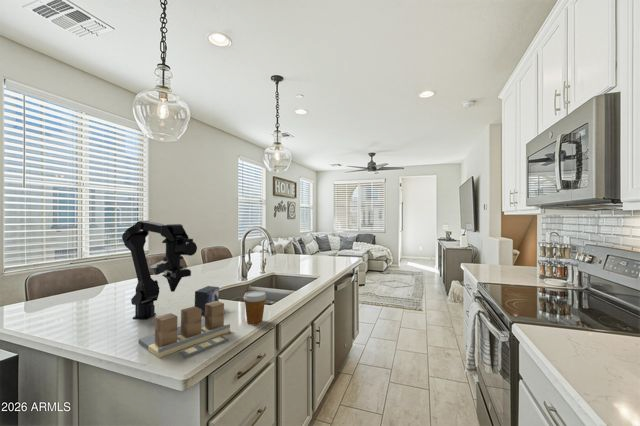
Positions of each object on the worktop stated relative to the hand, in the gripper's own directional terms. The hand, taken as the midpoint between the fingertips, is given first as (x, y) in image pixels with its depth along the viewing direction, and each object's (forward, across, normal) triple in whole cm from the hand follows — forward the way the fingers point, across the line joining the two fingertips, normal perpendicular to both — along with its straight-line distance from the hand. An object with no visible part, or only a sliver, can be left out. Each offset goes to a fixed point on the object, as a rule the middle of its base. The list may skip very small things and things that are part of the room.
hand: (172, 291), depth 117 cm
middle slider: (+11, +21, -3) cm, 24 cm away
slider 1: (+11, +22, -12) cm, 27 cm away
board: (+13, +18, -3) cm, 23 cm away
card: (+13, +30, -3) cm, 33 cm away
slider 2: (+11, +22, +6) cm, 25 cm away
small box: (+13, -2, +17) cm, 22 cm away
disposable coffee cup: (+13, +26, +22) cm, 37 cm away
